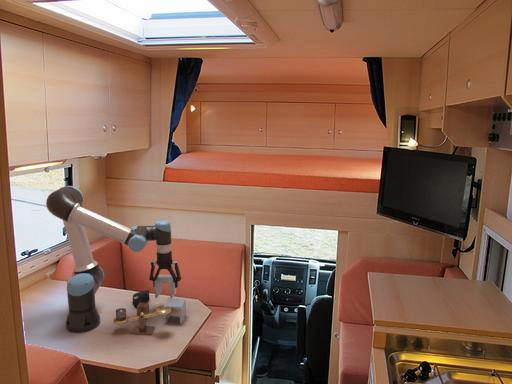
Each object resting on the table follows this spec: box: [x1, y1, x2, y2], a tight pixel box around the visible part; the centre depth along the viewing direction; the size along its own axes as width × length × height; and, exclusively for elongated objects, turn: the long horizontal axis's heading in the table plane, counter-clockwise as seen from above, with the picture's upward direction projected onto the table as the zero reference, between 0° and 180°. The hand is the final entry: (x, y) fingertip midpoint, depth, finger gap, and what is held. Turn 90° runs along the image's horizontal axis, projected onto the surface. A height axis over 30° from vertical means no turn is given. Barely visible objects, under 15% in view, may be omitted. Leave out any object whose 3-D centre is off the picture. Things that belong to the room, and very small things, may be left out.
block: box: [136, 302, 150, 321], centre depth 198 cm, size 4×4×7 cm
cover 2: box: [163, 297, 187, 325], centre depth 197 cm, size 9×9×9 cm
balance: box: [113, 305, 172, 336], centre depth 186 cm, size 27×7×11 cm, turn 86°
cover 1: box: [154, 274, 175, 299], centre depth 207 cm, size 9×9×9 cm
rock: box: [132, 289, 150, 307], centre depth 214 cm, size 9×10×6 cm
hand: (165, 293), depth 207 cm, fingers closed on cover 1, 9 cm apart
